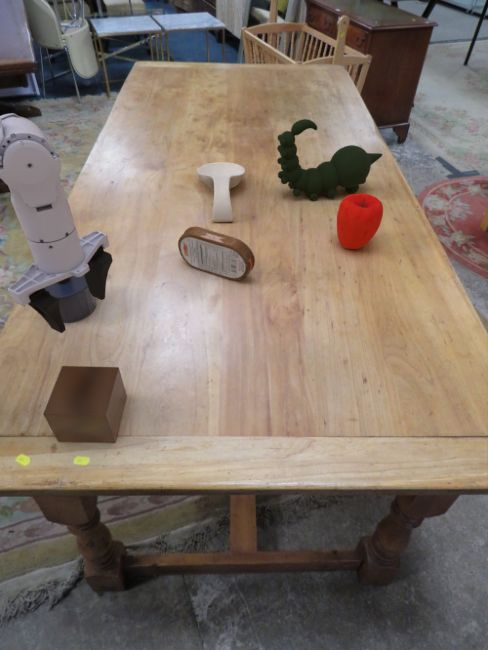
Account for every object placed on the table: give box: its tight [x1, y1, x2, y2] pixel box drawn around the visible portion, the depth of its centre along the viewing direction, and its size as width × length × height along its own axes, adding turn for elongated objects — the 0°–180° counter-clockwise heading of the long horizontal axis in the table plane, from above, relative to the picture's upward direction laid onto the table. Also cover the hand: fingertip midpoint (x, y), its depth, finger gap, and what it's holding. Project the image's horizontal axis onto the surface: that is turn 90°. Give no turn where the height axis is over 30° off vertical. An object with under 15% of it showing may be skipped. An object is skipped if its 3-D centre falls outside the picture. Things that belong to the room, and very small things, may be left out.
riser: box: [42, 365, 128, 444], centre depth 58 cm, size 8×8×6 cm
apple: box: [336, 192, 384, 250], centre depth 87 cm, size 9×9×11 cm
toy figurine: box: [276, 118, 383, 201], centre depth 100 cm, size 9×19×25 cm
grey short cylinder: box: [59, 288, 98, 324], centre depth 74 cm, size 8×8×5 cm
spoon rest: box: [196, 161, 246, 223], centre depth 101 cm, size 24×12×7 cm, turn 4°
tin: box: [177, 226, 256, 281], centre depth 80 cm, size 15×3×8 cm, turn 65°
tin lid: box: [45, 275, 88, 300], centre depth 71 cm, size 9×9×4 cm
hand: (79, 312), depth 61 cm, fingers open, 7 cm apart
